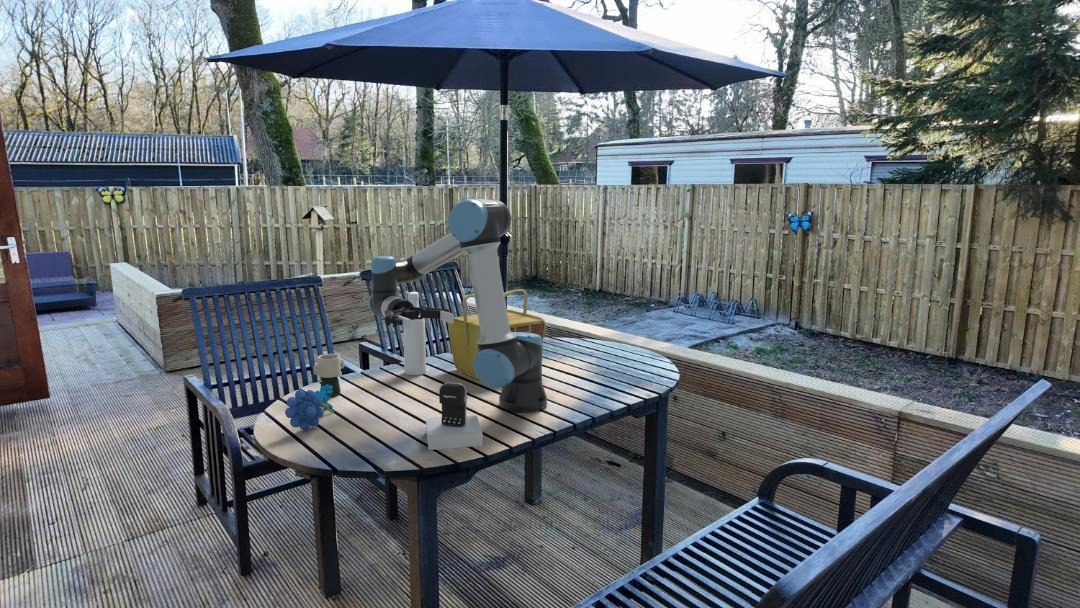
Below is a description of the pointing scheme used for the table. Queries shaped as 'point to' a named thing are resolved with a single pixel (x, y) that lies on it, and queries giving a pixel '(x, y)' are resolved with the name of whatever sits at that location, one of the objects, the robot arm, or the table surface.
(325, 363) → the character mug
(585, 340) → the table surface
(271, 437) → the table surface
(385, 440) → the table surface
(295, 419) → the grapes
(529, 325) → the picnic basket
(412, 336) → the bottle
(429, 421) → the stand
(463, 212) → the robot arm
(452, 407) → the battery charger
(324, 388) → the blue green lumpy piece
